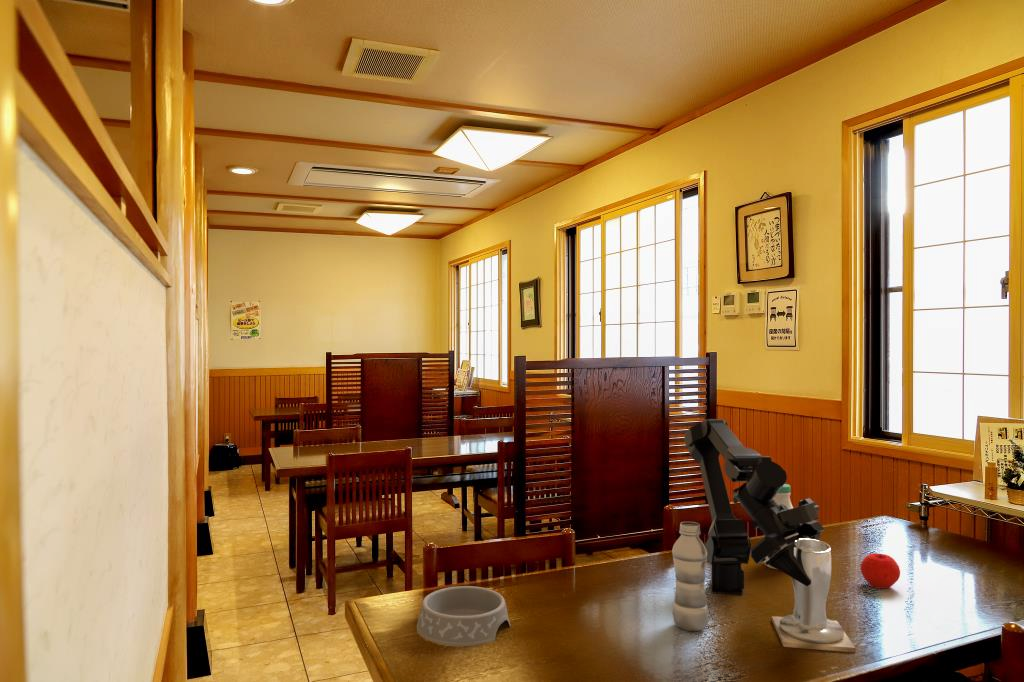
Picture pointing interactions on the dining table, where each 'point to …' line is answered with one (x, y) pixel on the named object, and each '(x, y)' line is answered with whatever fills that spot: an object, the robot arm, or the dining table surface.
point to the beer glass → (812, 583)
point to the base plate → (791, 642)
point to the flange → (812, 632)
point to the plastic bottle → (690, 579)
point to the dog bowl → (462, 616)
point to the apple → (880, 570)
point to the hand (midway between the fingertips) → (818, 580)
